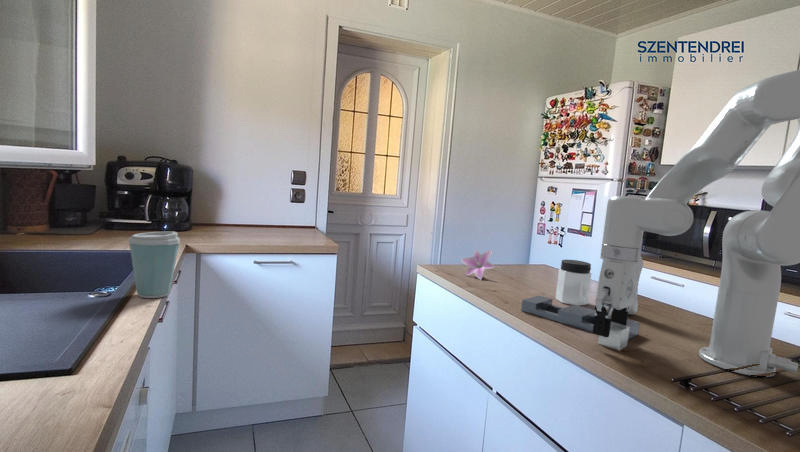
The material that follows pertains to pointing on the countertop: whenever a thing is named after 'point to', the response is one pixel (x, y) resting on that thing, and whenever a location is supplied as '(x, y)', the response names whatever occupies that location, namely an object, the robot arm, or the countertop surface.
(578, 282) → the jar
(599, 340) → the nut
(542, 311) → the rail
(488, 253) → the lily
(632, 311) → the plastic bottle
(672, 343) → the countertop surface
